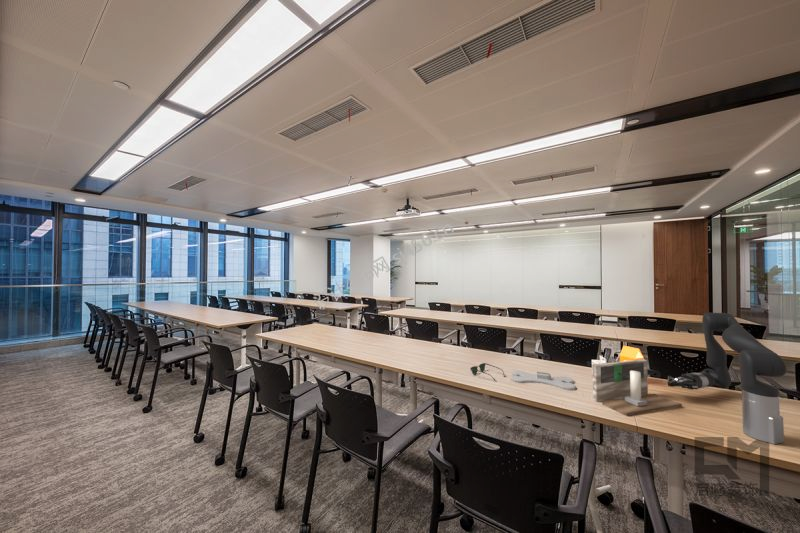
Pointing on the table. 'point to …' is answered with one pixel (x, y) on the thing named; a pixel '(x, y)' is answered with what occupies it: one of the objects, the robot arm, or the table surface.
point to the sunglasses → (482, 369)
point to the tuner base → (625, 388)
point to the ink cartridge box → (598, 362)
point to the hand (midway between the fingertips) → (669, 384)
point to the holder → (543, 379)
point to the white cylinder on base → (635, 389)
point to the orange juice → (630, 354)
